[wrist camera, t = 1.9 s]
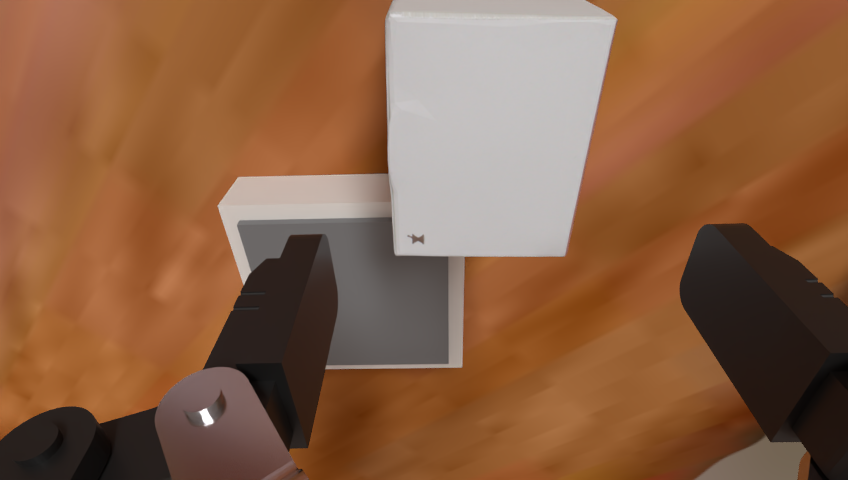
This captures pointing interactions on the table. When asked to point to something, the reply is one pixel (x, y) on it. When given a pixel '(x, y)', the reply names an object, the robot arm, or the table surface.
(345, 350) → the stack base
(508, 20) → the small box
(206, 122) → the table surface
